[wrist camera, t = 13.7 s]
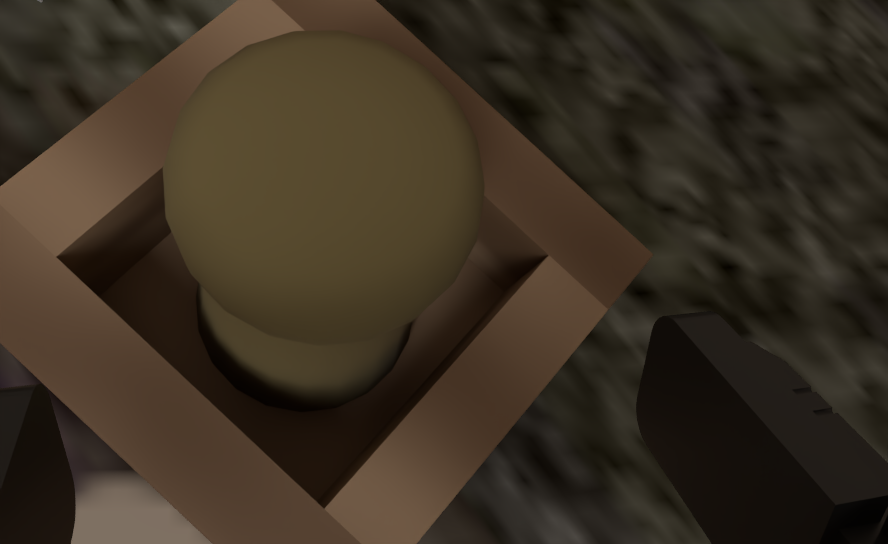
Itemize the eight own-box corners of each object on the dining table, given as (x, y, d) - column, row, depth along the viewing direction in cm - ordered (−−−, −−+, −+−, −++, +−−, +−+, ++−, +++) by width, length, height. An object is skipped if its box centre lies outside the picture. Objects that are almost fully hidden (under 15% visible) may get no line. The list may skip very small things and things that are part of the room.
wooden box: (306, 44, 25) (312, -58, 20) (581, 297, 24) (653, 254, 20) (-6, 306, 21) (-91, 257, 16) (316, 611, 21) (327, 651, 16)
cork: (206, 192, 22) (140, -63, 11) (416, 210, 23) (532, -7, 12) (184, 409, 20) (85, 343, 10) (411, 415, 21) (539, 363, 11)
